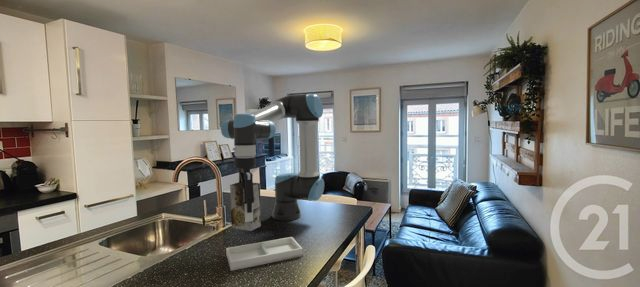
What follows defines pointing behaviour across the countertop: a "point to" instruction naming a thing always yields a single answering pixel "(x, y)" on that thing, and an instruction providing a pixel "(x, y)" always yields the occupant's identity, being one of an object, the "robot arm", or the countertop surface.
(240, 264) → the cell crate
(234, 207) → the coffee box
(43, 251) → the countertop surface
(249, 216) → the robot arm
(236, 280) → the countertop surface
